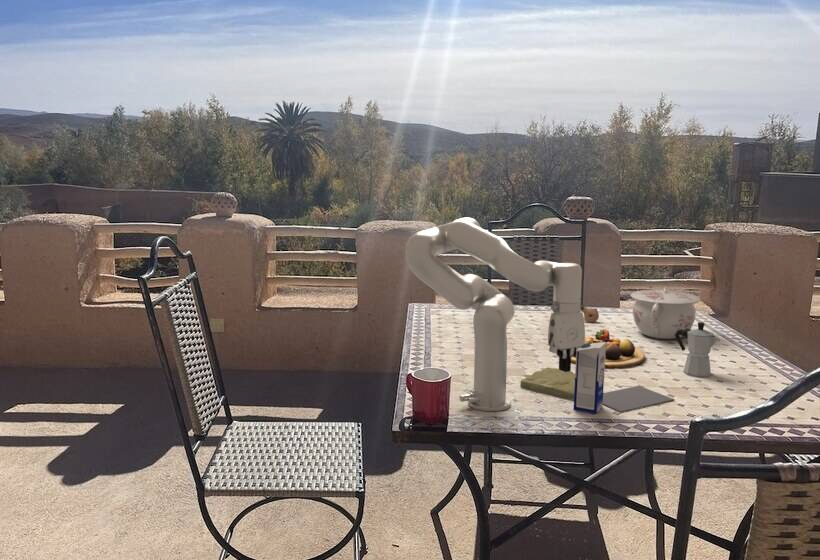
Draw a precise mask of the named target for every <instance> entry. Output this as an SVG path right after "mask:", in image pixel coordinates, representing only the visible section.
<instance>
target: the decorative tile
mask: <svg viewBox="0 0 820 560" xmlns="http://www.w3.org/2000/svg"><path fill="white" fill-rule="evenodd" d="M520 388H524V389H527V390H532V391H535V392H540V393H544V394H549V395H551V396H555V397H560V398H563V399H567V400H568V399H569V400H571V401H572V400H573V401H574V389H575V372H573V371H569V372H564V371H561V370H559V368H556V367H545V368H543V369H541V370H537V371H534V372H533V373H532V374H529V375H527V376H525V378H522V379H521V380H520Z"/></svg>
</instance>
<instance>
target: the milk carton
mask: <svg viewBox="0 0 820 560" xmlns="http://www.w3.org/2000/svg"><path fill="white" fill-rule="evenodd" d="M605 352H606V342H602V343H600V342H599V343H592V344H590V342H585V343H584V345H582V346H581V348H579V349H578V350H576V364H575V371H574V373H575V389H574V400H573V411H578V412H583V413H584V412H585V413H589V414H593V415H598V413H599V411H600V410H601V409H602V408H603V405H602V404H603V393H604V385H605V384H604V383H605V369H606V368H605Z"/></svg>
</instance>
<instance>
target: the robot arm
mask: <svg viewBox="0 0 820 560" xmlns="http://www.w3.org/2000/svg"><path fill="white" fill-rule="evenodd" d="M406 242H407V243H406V246H405V251H404V252H405V255H404V256H405V260H406V263H407V266H408V268H409V269H410V271H411V272H412V273H413V274H414V276H416V278H418V280H420V281H422V282H423V284H425V285H427V287H429V288H430V289H432V290H433V291H434V292H435V293H436V294H438V295H439V296H440V297H442V298H443V299H444V300H446V301H447V302H448V303H449V304H450V305H452V306H453V307H454V308H456V309H458V310H462V311H463V310H468V309H470V308H472V309H473V310H474V314H473V319H472V320H473V321H472V322H473V323H472V324H473V334H474V336H473V337H474V353H473V354H474V364H473V365H474V366H473V367H474V368H473V369H474V371H473V388H471V389H470V392H468V394H467V393H466V394H461V395H459V401H460V402H461V403H462V402H467V403H468V405H469V406H470V407H471V408H474V410H475V409H476V410H478V411H484V412H485V411H486V412H500V411H505V410H507V409H509V408H510V407H511V405H512V404H511V403H512V400H511V399H510V398H508V397H507V372H508V371H507V370H508V369H507V368H508V367H507V366H508V365H507V364H508V363H507V362H508V335H507V326H508V324H509V323H511V321H512V319H513V318H514V315H515V307H514V304H513V302H512V300H511V299H510V298H509V297H508V296H507V295H505V294H504V293H503V292H501V291H500V290H498V288H496V287H495V286H493V284H491V283H489V282H488V281H487V280H485V279H484V278H482V277H481V276H479V275H477V274H473V273H468V274H463V275H462V274H460V273H459V272H458V271H456V270H455V269H453V268H452V267H451V266H450V265H449V264H447V263H445V262H443V261H441V260H440V259H438V258H437V257H436V256H438V255H441V254H444V253H448V252H451V251H455V250H459V251H461V252H463V253H465V254H467V255H469V256H471V257H472V258H475V259H477V260H479V261H480V262H482V263H484V264H486V265H488V266H489V267H490V268H491V269H493V270H494V271H495V272H496V273H498V274H500V275H501V276H502V277H504V278H505V279H506V280H508V281H510V282H512V283H513V284H515V285H518V286H519V287H521V288H524V289H525V290H528V291H530V292H535V293H536V292H537V293H538V292H542V291H544V290H545V289H546V288H548V287H553V293H552V294H553V298H552V304H551V305H550V310H552V312H551V313H550V316H549V317H550V318H549V321H548V330H547V331H548V332H547V343H548V344H547V345H548V346H549V348H548V351H549V352H550V353H552V354H556V357H558V369H559V370H561V371H564V372H569V371H571V366H572V363H571V358H572V357H573V354H574V352H575V351H576V350H577V349H579V348H581V346H582V345H584V343H585V337H586V327H585V321H584V313H583V312H582V311H581V310H580V308H581V305H582V303H581V302H582V278H583V277H582V276H583V275H582V274H583V269H582V266H581V265H580V264H578V263H575V262H554V261H548V260H537V261H534V262H533V261H530V260H529V259H526V258H524V257H522V256H521V255H519V254H517V253H516V252H515V251H513V250H512V249H511V248H510V247H509V244H508V243H507V242H506V241H505V239H504V238H502V237H500V236H498V235H496V234H494V233H492V232H490V231H489V230H486V229H484V228H482V227H481V224H480V222H478V220H476V219H475V218H472V217H467V216H465V217H460V218H458V219H455V220H453V221H451V222H448V223H445V224H442V225H441V224H440V225H437V226H434V227H431V228H427V229H423V230H419V231H417V232H415V233H414V234H412V235H411V236H410V237H409V239H408V240H407V241H406ZM561 350H562V351H561Z"/></svg>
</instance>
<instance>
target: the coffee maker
mask: <svg viewBox="0 0 820 560" xmlns="http://www.w3.org/2000/svg"><path fill="white" fill-rule="evenodd" d="M704 328H705V322H702V321H699V322H697V329H696V328H695V329H692V328H691V329H689V328H687V329H685V330H683V329H680V330H677V332H676V333H675V337H676V339H675V340H676V341H677V343H678V345H679V347H680V349H681V351H682V352H684V351H685V350H686V347H685V344H684V343H683V340H682V339H681V338H680V337H679V335H682V336H683V337H682V338H685V339H687V349H688V352H689V353H687V357H686V361H685V365H684V367H683V372H682V373H683V374H685V375H686V376H689V377H695V378H708V377H710V376H712V372H711V361H710V356H709V354H710V352H711V349H712V347H713V346H714V345H715V343H716V342H717V340H718V339H719V340H720V337H718V336H717V335H715V334H714V332H712V331H709V330H706V329H704Z"/></svg>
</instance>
